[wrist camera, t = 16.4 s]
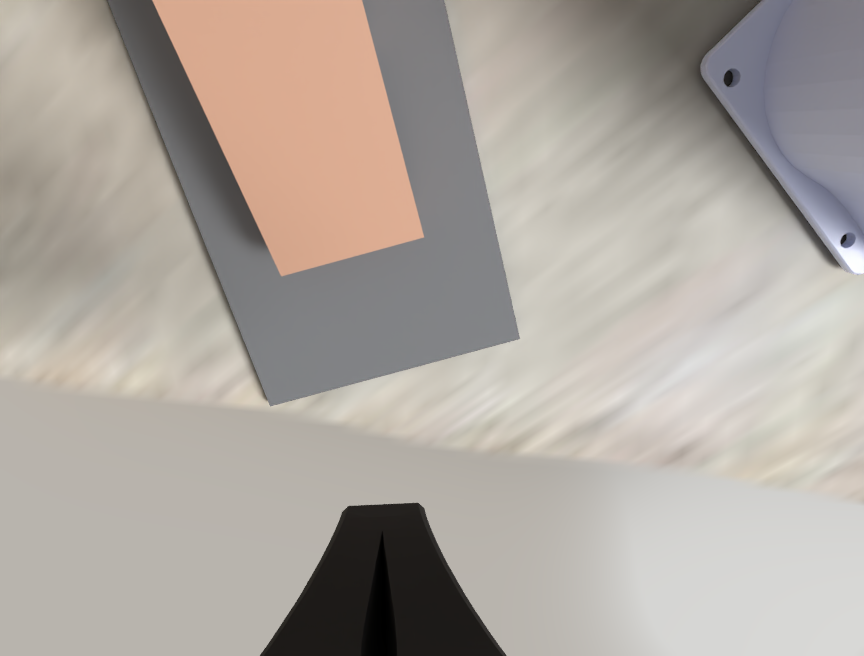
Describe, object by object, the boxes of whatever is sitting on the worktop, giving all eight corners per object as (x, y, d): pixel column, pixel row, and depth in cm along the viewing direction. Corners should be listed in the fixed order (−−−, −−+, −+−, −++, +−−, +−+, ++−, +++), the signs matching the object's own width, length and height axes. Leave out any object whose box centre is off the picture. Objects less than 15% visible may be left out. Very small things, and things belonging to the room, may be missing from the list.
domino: (424, 237, 17) (338, -88, 12) (281, 276, 17) (137, -31, 12) (417, 212, 18) (337, -91, 13) (283, 249, 18) (154, -39, 13)
